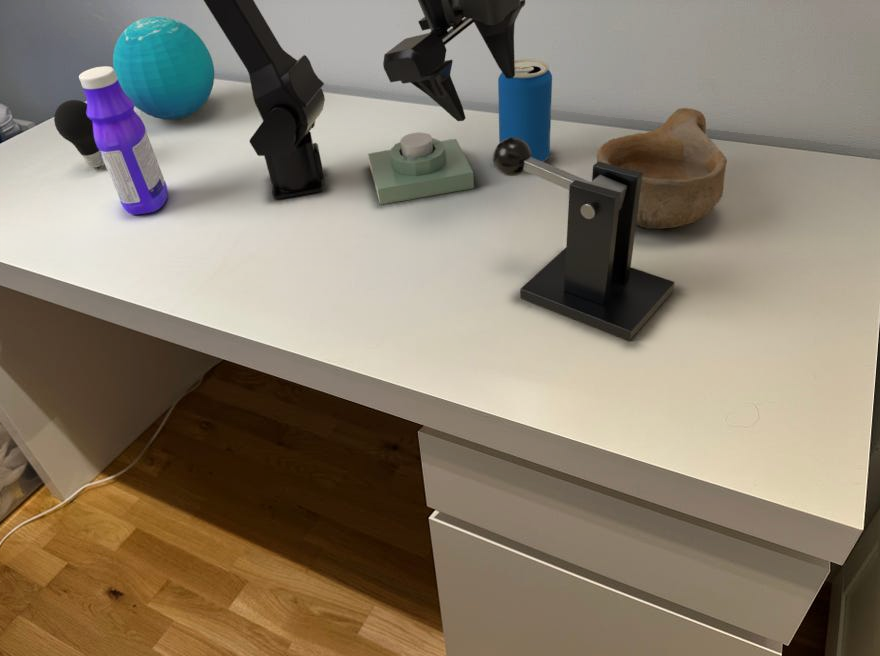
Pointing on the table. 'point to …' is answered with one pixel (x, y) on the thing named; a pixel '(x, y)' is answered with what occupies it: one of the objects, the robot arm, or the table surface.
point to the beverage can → (527, 106)
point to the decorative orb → (163, 67)
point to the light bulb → (78, 130)
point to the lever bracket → (600, 261)
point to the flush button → (416, 145)
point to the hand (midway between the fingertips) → (486, 98)
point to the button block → (420, 172)
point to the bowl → (672, 169)
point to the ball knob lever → (542, 167)
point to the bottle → (123, 142)
